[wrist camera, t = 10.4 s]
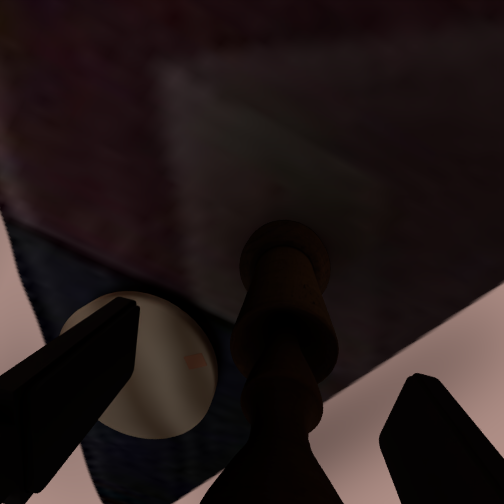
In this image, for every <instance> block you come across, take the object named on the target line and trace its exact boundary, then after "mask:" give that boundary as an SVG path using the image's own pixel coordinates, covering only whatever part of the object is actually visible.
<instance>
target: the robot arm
mask: <svg viewBox="0 0 504 504" xmlns="http://www.w3.org/2000/svg"><path fill="white" fill-rule="evenodd" d="M139 317H140V306H138V305H137V303H136V301H135V300H132V299H128V298H124V297H116V298H115V299H113V300H112V301H110V302H109V303H107V304H106V305H104V306H103V307H101V308H100V309H98V310H97V311H95V312H94V313H92V314H91V315H89V316H88V317H87V318H85V319H84V320H82V321H81V322H79V323H78V324H76V325H75V326H73V327H72V328H70V329H69V330H67V331H66V332H64V333H63V334H61V335H60V336H58V337H57V338H55V339H54V340H52V341H51V342H50V343H48V344H47V345H45V346H44V347H42V348H41V349H39V350H38V351H36V352H35V353H33V354H32V355H30V356H29V357H27V358H26V359H24V360H23V361H21V362H20V363H18V364H17V365H15V366H14V367H13V368H11V369H10V370H8V371H7V372H5V373H4V374H2V375H1V376H0V504H2V503H4V504H25V503H26V502H27V501H28V499H29V498H30V497H31V496H32V494H33V493H39V492H41V491H42V490H43V489H44V488H45V487H46V486H47V484H48V483H49V482H50V481H51V479H52V478H53V477H54V476H55V474H56V473H57V471H58V470H59V469H60V468H61V467H62V465H63V464H64V463H65V461H66V460H67V459H68V458H69V456H70V455H71V454H72V452H73V451H74V450H75V449H76V447H77V446H78V445H79V444H80V442H81V441H82V440H83V438H84V437H85V436H86V435H87V433H88V432H89V431H90V429H91V428H92V427H93V426H94V424H95V423H96V422H97V420H98V419H99V418H100V417H101V415H102V414H103V413H104V412H105V410H106V409H107V408H108V406H109V405H110V404H111V403H112V401H113V400H114V399H115V397H116V396H117V395H118V394H119V392H120V391H121V390H122V388H123V387H124V386H125V385H126V383H127V382H128V381H129V379H130V378H131V376H132V374H133V371H134V367H135V357H136V347H137V337H138V327H139ZM379 445H380V449H381V452H382V454H383V457H384V459H385V462H386V465H387V467H388V470H389V473H390V475H391V478H392V480H393V483H394V486H395V488H396V491H397V494H398V496H399V499H400V501H401V504H504V458H503V457H502V456H501V455H500V454H499V452H498V451H497V450H496V449H495V447H494V446H493V445H492V444H491V443H490V441H489V440H488V439H487V438H486V437H485V435H484V434H483V433H482V432H481V430H480V429H479V428H478V427H477V425H476V424H475V423H474V422H473V421H472V419H471V418H470V417H469V416H468V415H467V413H466V412H465V411H464V410H463V408H462V407H461V406H460V405H459V404H458V403H457V401H456V400H455V399H454V398H453V396H452V395H451V394H450V393H449V391H448V390H447V389H446V388H445V387H444V385H443V384H442V383H441V382H440V381H439V380H438V379H437V378H435V377H431V376H427V375H424V374H419V373H415V374H413V376H410V377H408V378H407V380H406V382H405V384H404V386H403V388H402V390H401V392H400V394H399V396H398V398H397V400H396V402H395V404H394V406H393V409H392V411H391V413H390V415H389V417H388V419H387V421H386V423H385V425H384V427H383V429H382V431H381V433H380V436H379Z"/></svg>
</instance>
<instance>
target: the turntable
mask: <svg viewBox="0 0 504 504" xmlns="http://www.w3.org/2000/svg"><path fill="white" fill-rule="evenodd" d="M116 297H124V298H128V299H132V300H135V301H136V303H137V305H138V306H140V317H139V327H138V337H137V347H136V357H135V367H134V371H133V374H132V376H131V378H130V379H129V381H128V382H127V383H126V385H125V386H124V387H123V388H122V390H121V391H120V392H119V394H118V395H117V396H116V397H115V399H114V400H113V401H112V403H111V404H110V405H109V406H108V408H107V409H106V410H105V412H104V413H103V414H102V415H101V417H100V418H99V419H98V420H99V421H100V422H102V423H103V424H105V425H107V426H109V427H110V428H112V429H115V430H117V431H119V432H121V433H124V434H127V435H131V436H135V437H139V438H146V439H163V438H170V437H174V436H177V435H180V434H183V433H185V432H187V431H189V430H190V429H192V428H193V427H194V426H196V425H197V424H198V423H199V422H200V421H201V420H202V419H203V417H204V416H205V414H206V413H207V411H208V409H209V407H210V404H211V401H212V398H213V396H214V393H215V390H216V386H217V382H218V364H217V359H216V355H215V352H214V349H213V347H212V345H211V343H210V341H209V339H208V337H207V336H206V334H205V333H204V331H203V330H202V328H201V327H200V326H199V325H198V324H197V323H196V321H195V320H194V319H193V318H191V317H190V316H189V315H188V314H187V313H186V312H184V311H183V310H182V309H180V308H179V307H178V306H176V305H174V304H172V303H171V302H169V301H167V300H165V299H162V298H160V297H158V296H154V295H151V294H148V293H142V292H137V291H121V292H114V293H110V294H106V295H104V296H101V297H99V298H97V299H96V300H94V301H92V302H91V303H89V304H87V305H86V306H84V307H82V308H81V309H79V310H77V311H76V312H75V313H74V314H73V315H72V316H71V317H70V318H69V319H68V320H67V322H66V323H65V325H64V326H63V328H62V330H61V333H60V335H61V334H63V333H64V332H66V331H67V330H69V329H70V328H72V327H73V326H75V325H76V324H78V323H79V322H81V321H82V320H84V319H85V318H87V317H88V316H89V315H91V314H92V313H94V312H95V311H97V310H98V309H100V308H101V307H103V306H104V305H106V304H107V303H109V302H110V301H112V300H113V299H115V298H116Z"/></svg>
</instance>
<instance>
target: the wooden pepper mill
mask: <svg viewBox="0 0 504 504" xmlns="http://www.w3.org/2000/svg"><path fill="white" fill-rule="evenodd" d="M240 275H241V279H242V282H243V284H244V286H245V288H246V290H247V291H248V292H247V295H246V297H245V300H244V303H243V306H242V308H241V311H240V313H239V316H238V318H237V321H236V323H235V326H234V329H233V331H232V335H231V340H230V349H231V355H232V358H233V361H234V363H235V365H236V366H237V368H238V369H239V371H240V372H241V373H242V374H243V375H244V376H245V377H246V378H247V380H246V383H245V385H244V388H243V391H242V395H241V407H242V411H243V413H244V415H245V417H246V419H247V420H248V422H249V423H250V424H251V432H250V436H249V440H248V442H247V443H246V445H245V446H244V447H243V448H242V449H241V450H240V451H239V452H238V453H237V454H236V456H235V457H234V458H233V459H232V460H231V461H230V463H229V464H228V465H227V467H226V468H225V469H224V470H223V471H222V473H221V474H220V475H219V476H218V478H217V479H216V480H215V482H214V483H213V484H212V485H211V487H210V488H209V489H208V491H207V492H206V494H205V496H204V497H203V499H202V500H201V502H200V504H344V503H343V502H342V500H341V499H340V497H339V495H338V494H337V492H336V490H335V489H334V487H333V485H332V484H331V482H330V480H329V479H328V477H327V476H326V474H325V472H324V471H323V469H322V468H321V466H320V465H319V463H318V461H317V460H316V458H315V457H314V455H313V453H312V451H311V448H310V443H309V440H308V433H309V432H311V431H312V430H313V429H315V427H316V426H317V425H318V424H319V422H320V420H321V417H322V414H323V402H322V397H321V394H320V391H319V388H318V385H317V384H318V383H320V382H322V381H323V380H324V379H325V378H326V377H327V376H328V375H329V374H330V373H331V372H332V370H333V368H334V366H335V364H336V361H337V358H338V350H339V348H338V340H337V337H336V333H335V331H334V328H333V325H332V322H331V319H330V317H329V314H328V311H327V309H326V306H325V303H324V300H323V297H322V293H323V292H324V290H325V289H326V287H327V284H328V281H329V277H330V261H329V256H328V253H327V251H326V249H325V247H324V245H323V244H322V242H321V240H320V239H319V237H318V236H317V235H316V234H315V233H314V232H313V231H312V230H311V229H310V228H308V227H307V226H305V225H303V224H301V223H298V222H295V221H289V220H279V221H274V222H270V223H267V224H265V225H263V226H262V227H260V228H259V229H258V230H256V231H255V232H254V233H253V235H252V236H251V237H250V238H249V240H248V242H247V243H246V245H245V247H244V249H243V251H242V254H241V258H240Z"/></svg>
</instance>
